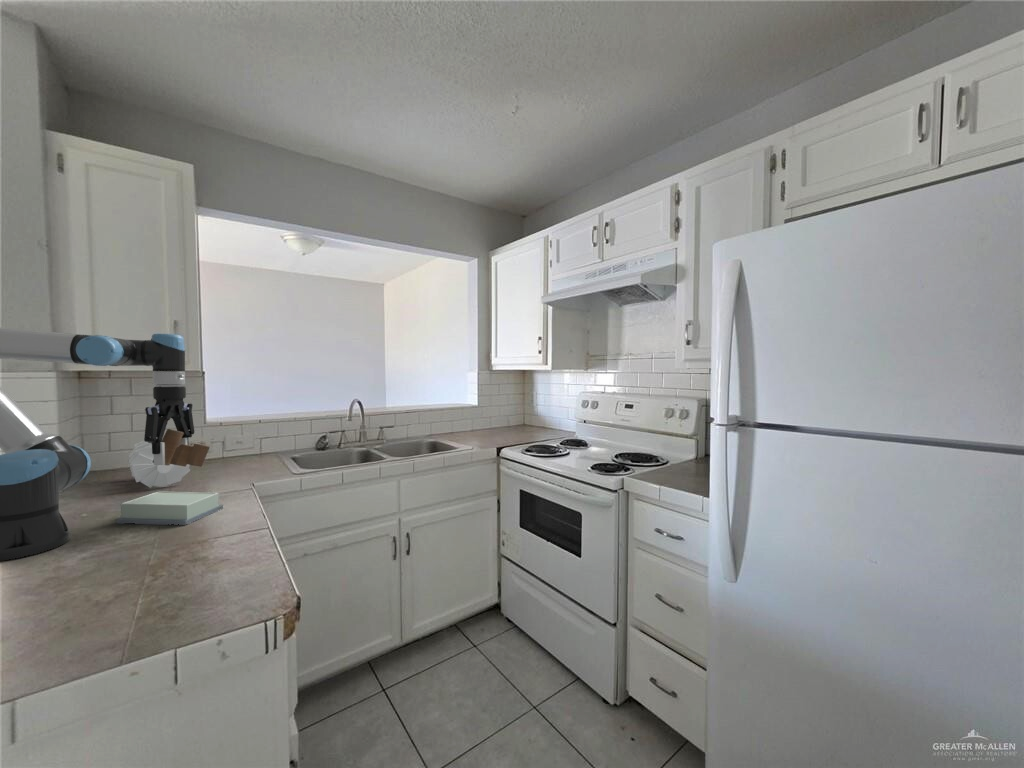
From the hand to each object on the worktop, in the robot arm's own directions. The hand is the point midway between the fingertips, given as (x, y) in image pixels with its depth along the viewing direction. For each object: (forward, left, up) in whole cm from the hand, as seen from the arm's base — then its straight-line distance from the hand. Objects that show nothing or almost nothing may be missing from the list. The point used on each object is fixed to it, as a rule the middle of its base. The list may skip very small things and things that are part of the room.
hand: (171, 461), depth 124 cm
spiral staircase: (+34, +36, -17) cm, 52 cm away
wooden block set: (0, -1, -1) cm, 2 cm away
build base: (0, 0, -17) cm, 17 cm away
